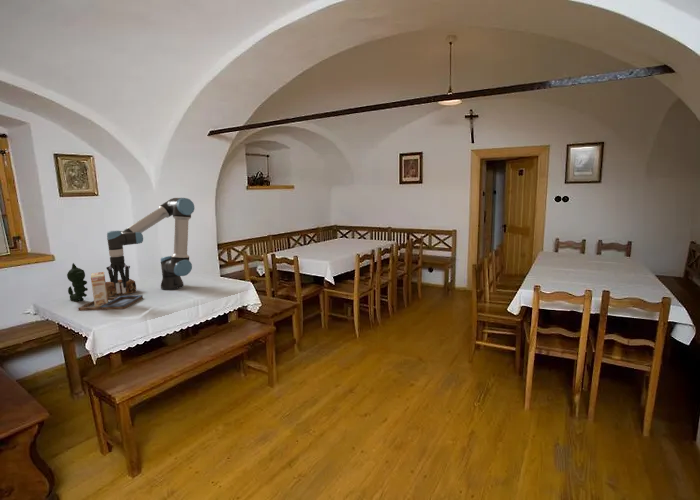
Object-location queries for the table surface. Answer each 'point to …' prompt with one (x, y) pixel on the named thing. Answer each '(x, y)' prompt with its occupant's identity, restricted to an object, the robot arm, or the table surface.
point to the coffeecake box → (99, 289)
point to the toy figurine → (77, 283)
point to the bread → (112, 290)
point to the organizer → (114, 303)
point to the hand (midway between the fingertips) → (121, 292)
